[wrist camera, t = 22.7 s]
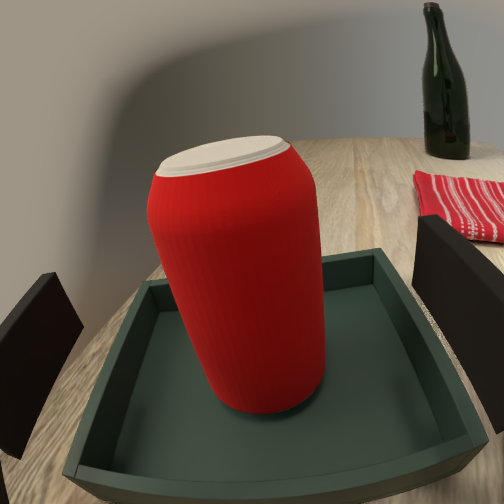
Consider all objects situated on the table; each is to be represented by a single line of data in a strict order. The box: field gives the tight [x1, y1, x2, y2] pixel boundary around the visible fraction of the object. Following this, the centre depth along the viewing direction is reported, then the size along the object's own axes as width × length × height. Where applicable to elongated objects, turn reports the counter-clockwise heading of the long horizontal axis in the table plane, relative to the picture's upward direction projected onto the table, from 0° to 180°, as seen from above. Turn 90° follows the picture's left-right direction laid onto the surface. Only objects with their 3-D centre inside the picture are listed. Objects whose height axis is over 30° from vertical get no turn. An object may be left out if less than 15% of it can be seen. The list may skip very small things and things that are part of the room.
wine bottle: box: [422, 2, 470, 159], centre depth 46 cm, size 10×10×33 cm
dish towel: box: [413, 170, 504, 243], centre depth 27 cm, size 17×24×3 cm
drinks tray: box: [62, 248, 489, 504], centre depth 16 cm, size 18×16×3 cm
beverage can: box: [147, 136, 326, 414], centre depth 13 cm, size 6×6×12 cm
